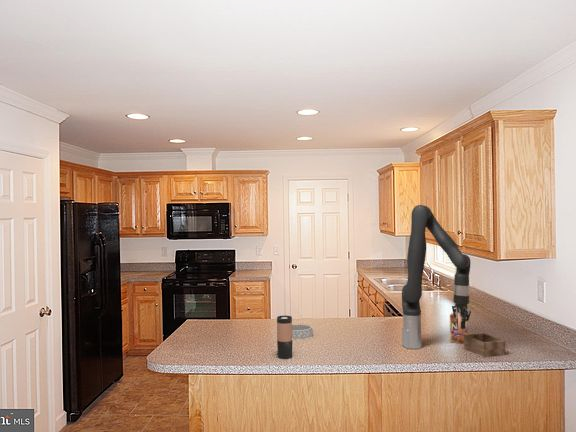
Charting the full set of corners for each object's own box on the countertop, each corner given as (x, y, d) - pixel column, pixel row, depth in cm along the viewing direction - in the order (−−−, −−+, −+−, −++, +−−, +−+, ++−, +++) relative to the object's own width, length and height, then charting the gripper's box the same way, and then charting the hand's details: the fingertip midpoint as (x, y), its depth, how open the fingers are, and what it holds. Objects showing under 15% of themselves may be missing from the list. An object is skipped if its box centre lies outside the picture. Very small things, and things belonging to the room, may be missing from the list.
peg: (459, 333, 235) (460, 313, 235) (456, 331, 238) (456, 312, 238) (465, 333, 235) (465, 313, 235) (461, 331, 238) (462, 312, 238)
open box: (484, 357, 228) (483, 342, 228) (464, 348, 243) (464, 334, 243) (505, 355, 231) (505, 340, 231) (484, 346, 246) (484, 333, 246)
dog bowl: (283, 340, 266) (283, 331, 266) (284, 332, 284) (284, 323, 284) (313, 340, 265) (313, 330, 265) (312, 332, 284) (312, 323, 284)
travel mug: (292, 354, 238) (291, 315, 237) (293, 359, 230) (292, 318, 230) (277, 355, 237) (276, 315, 237) (277, 359, 230) (276, 318, 230)
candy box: (449, 342, 255) (449, 314, 255) (451, 340, 259) (450, 313, 258) (467, 344, 250) (466, 316, 250) (468, 342, 254) (468, 314, 254)
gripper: (447, 291, 242) (446, 325, 242) (462, 296, 229) (462, 331, 229) (460, 291, 244) (459, 324, 244) (476, 296, 230) (475, 331, 230)
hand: (460, 327), depth 236 cm, fingers closed on peg, 3 cm apart
